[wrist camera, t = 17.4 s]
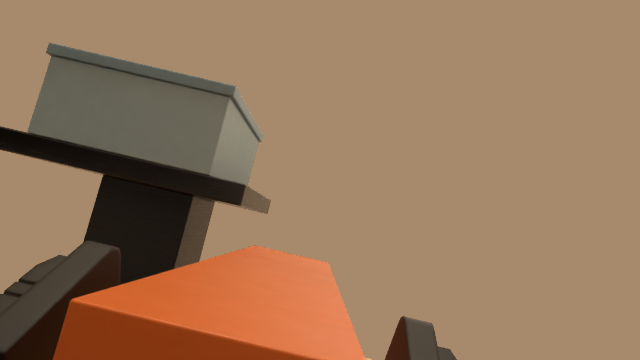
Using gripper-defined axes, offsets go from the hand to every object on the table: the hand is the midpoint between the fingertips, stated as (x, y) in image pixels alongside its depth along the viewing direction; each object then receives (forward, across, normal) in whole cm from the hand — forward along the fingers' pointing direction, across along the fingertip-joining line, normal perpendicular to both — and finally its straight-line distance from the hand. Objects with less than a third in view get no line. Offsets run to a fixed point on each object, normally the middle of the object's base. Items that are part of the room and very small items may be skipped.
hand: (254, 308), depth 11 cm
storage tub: (+17, +10, +5) cm, 20 cm away
